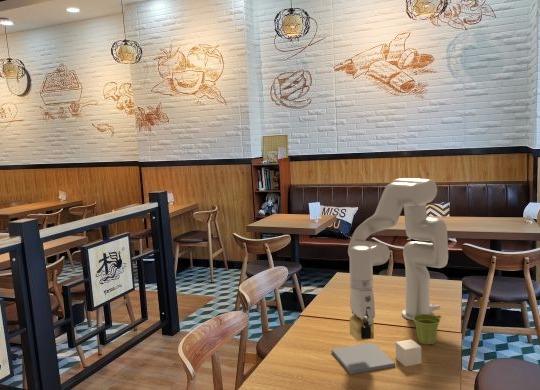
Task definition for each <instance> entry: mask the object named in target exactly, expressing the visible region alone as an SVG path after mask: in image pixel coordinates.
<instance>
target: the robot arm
mask: <svg viewBox="0 0 540 390" xmlns="http://www.w3.org/2000/svg"><path fill="white" fill-rule="evenodd" d="M437 193H438V186H437V184H436V182H435V181H434V180H433V179H430V178H429V179H428V178H409V177H408V178H406V177H403V178H402V177H401V178H396V179H393V180H392V182H391V183H388V184H387V185H386V186H385V188H384V189H383V192H382V195H381V197H380V199H379V202H378V204H377V207H376V208H375V209H376V210H375V212H374V213H373V215H370V217H368V218H366V219H365V220H364V221H363V222H362V223H360V224H359V225H358V226H357V227H356V229H355V230H354V232H353V234H352V235H351V238H350V241H349V244H348V248H347V254H348V257H349V288H350V295H349V296H350V297H349V298H350V299H349V300H350V301H349V303H350V311H351V313H352V316H351V317H355V316H358V317H359V318H361V321H362V327H361V338H362V339H368V338H371V325H372V323H373V322H374V321H375V320H374V318H376V313H375V312H376V309H375V306H376V305H375V297H374V291H373V288H374V286H373V284H374V283H373V281H374V280H373V277H374V275H373V273H374V272H373V266H380V265H384V264H386V263H387V262H388V260H389V259H390V256H391V250H390V248H389V247H388V245H386V244H385V243H383V242H377V241H376V242H375V241H372V240H371V241H370V240H366V239H367V238H369V237H370V236H371V235H373V234H374V233H378V232H381V231H384V230H388V229H390V228H393V227H395V226H396V225H397V223H398V221H399V219H400V215H401V213H402V210H403V212H404V214H403V215H404V226H405V229H404V230H405V233H406V237H408V238H409V239H411V241H408V242H407V243H405V244H404V246H403V249H402V254H403V261H404V267H405V309H403V310H402V311H401V316H402V317H403V318H404V319H406V320H410V321H413V322H415V321H414V320H413V317H414V316H415V315H418V314H430V315H434V313H433V312H434V311H440V309H441V306H440V304H435V305H434V304H433V303H430V302H431V301H430V300H431V299H430V297H431V294H430V293H431V292H430V287H431V286H430V284H431V277H430V276H431V275H430V271H429V270H428V268H437V269H441V268H444V267H446V266H447V265H448V260H449V244H448V243H449V242H448V240H449V239H448V228H447V224H446V221H444V220H443V219H441V218H438V217H430V216H428V215H427V205H426V204H428V203H429V204H430V203H431V202H432V201H433V200H434V199H436V196H437ZM412 240H413V241H412ZM414 240H415V241H414ZM427 267H428V268H427ZM364 316H367V318H364ZM364 320H368V321H367V322H366V323H365V322H364ZM374 323H375V322H374ZM368 340H369V339H368Z"/></svg>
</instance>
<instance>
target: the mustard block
mask: <svg viewBox="0 0 540 390" xmlns="http://www.w3.org/2000/svg"><path fill="white" fill-rule="evenodd" d="M364 318H367V316H364ZM367 321H368V320H364V322H365V323H366V322H367ZM374 323H375V322H373V323H372V325H371V338H368V339H362V338H361V327H362V321H361V318H359V317H358V316H355V317H352V316H350V317H349V335H350V336H352V337H353V338H354V339H355V341H356V342H359V341H360V342H361V341H368V340H372V339H375V335H374V334H375V331H374V330H375V327H374V325H375V324H374Z"/></svg>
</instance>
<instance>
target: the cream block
mask: <svg viewBox="0 0 540 390" xmlns="http://www.w3.org/2000/svg"><path fill="white" fill-rule="evenodd" d="M395 359H396V361H398V362H399V363H400V364H401V365H403V366H404V367H410V366H416V365H421V364H422V346H421V345H420V344H418V343H417V342H416V341H414V340H413V339H405V340H401V341H395Z"/></svg>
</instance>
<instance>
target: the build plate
mask: <svg viewBox="0 0 540 390" xmlns="http://www.w3.org/2000/svg"><path fill="white" fill-rule="evenodd" d="M331 353H332V355H334V357H335V358H336V359H337V361H339V362H340V364H341V365H342V366H343V368H344V369H345V370H346V371H347V372H348V373H349V375H354V374H359V373H360V374H361V373H367V372H373V371H378V370H382V369H389V368H395V367H396V362H395V361H394V360H393V359H391V358H390V356H388V355H387V354H386V353H385V352H384V351H383V350H382V349H381V348H380V347H379V346H378V345H376V344H375V342H369V343H361V344H355V345H351V346H350V345H349V346H343V347H336V348H332V349H331Z"/></svg>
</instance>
